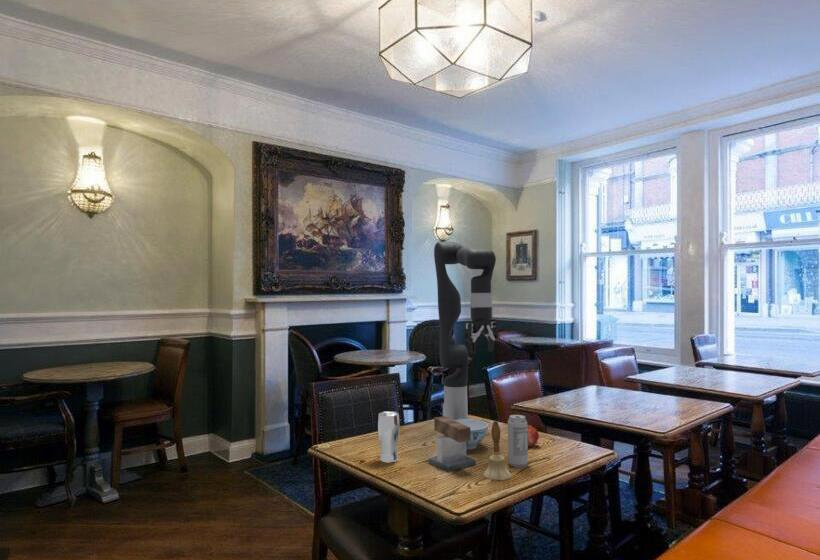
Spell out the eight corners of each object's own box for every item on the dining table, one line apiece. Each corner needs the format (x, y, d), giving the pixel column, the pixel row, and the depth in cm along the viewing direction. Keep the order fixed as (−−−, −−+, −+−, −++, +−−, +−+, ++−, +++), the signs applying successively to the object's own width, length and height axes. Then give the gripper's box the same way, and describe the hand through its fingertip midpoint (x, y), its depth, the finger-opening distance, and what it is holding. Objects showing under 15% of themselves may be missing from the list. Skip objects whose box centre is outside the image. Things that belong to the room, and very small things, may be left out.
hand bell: (493, 482, 146) (492, 426, 146) (477, 473, 154) (477, 419, 154) (517, 478, 149) (516, 422, 150) (501, 469, 157) (500, 416, 157)
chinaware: (497, 447, 179) (497, 425, 179) (466, 456, 170) (465, 432, 170) (467, 438, 191) (467, 417, 191) (436, 445, 182) (436, 423, 182)
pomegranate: (520, 448, 185) (509, 436, 179) (528, 430, 188) (517, 417, 182) (538, 454, 180) (527, 442, 174) (546, 436, 183) (535, 423, 177)
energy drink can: (524, 461, 164) (523, 413, 164) (530, 467, 158) (529, 418, 158) (505, 462, 163) (505, 414, 164) (511, 468, 157) (511, 419, 158)
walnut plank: (434, 429, 169) (434, 417, 169) (445, 428, 170) (444, 416, 170) (459, 442, 154) (458, 429, 154) (470, 440, 156) (470, 427, 156)
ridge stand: (428, 463, 163) (428, 434, 163) (455, 456, 169) (454, 429, 169) (448, 471, 155) (448, 441, 155) (475, 464, 161) (475, 435, 161)
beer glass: (389, 455, 171) (389, 410, 171) (404, 460, 166) (403, 413, 166) (373, 460, 166) (373, 413, 167) (388, 465, 161) (387, 417, 162)
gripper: (488, 305, 188) (489, 349, 187) (458, 306, 179) (459, 352, 179) (503, 305, 182) (504, 351, 181) (473, 306, 173) (474, 354, 173)
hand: (481, 352), depth 180 cm, fingers open, 8 cm apart
